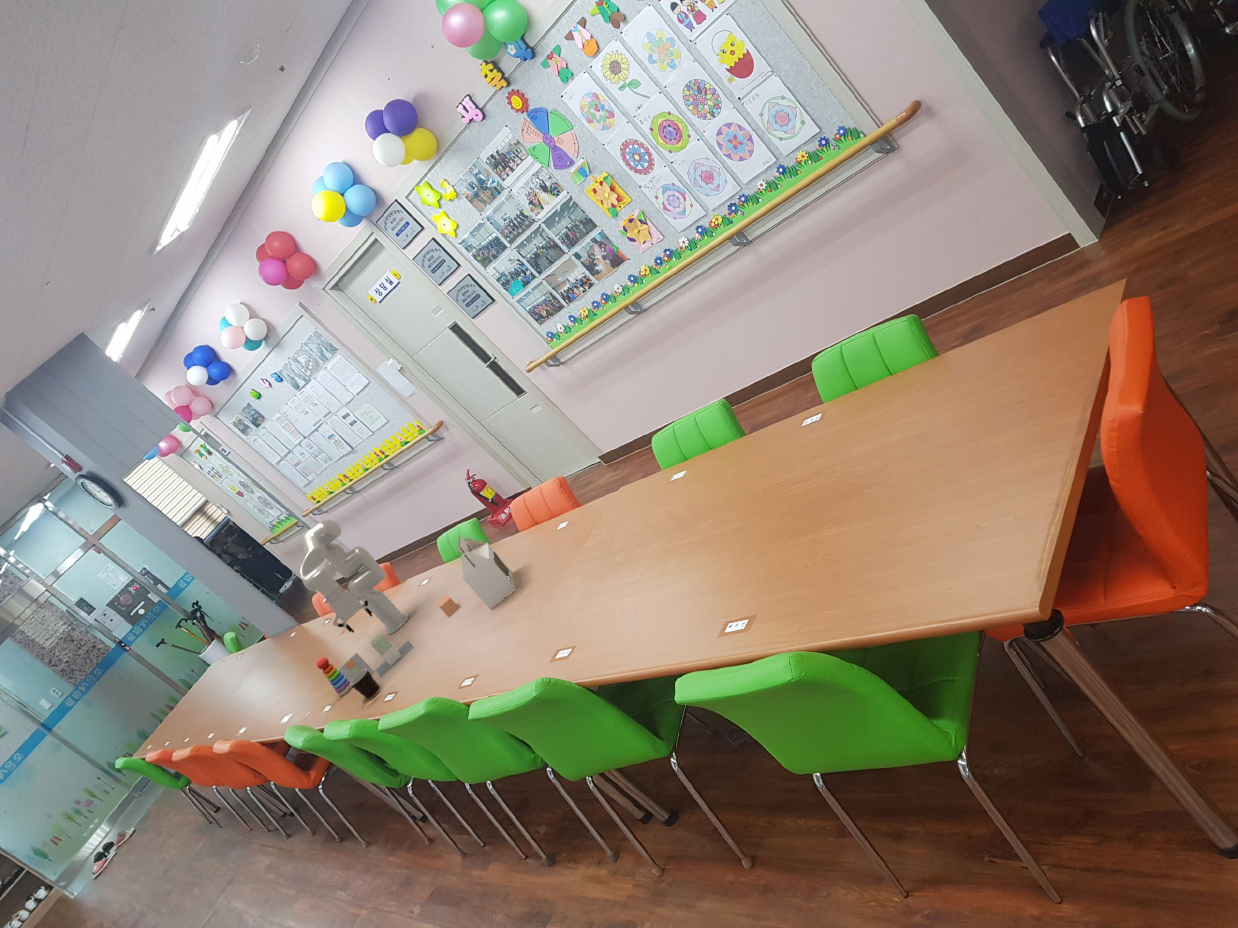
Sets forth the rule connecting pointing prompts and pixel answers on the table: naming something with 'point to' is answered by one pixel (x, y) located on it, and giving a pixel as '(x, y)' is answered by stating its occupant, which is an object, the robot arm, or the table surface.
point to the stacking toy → (334, 677)
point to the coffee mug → (365, 684)
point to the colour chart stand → (354, 667)
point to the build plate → (386, 667)
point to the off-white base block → (391, 655)
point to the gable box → (485, 571)
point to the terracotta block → (447, 605)
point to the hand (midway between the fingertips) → (362, 623)
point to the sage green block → (381, 643)
